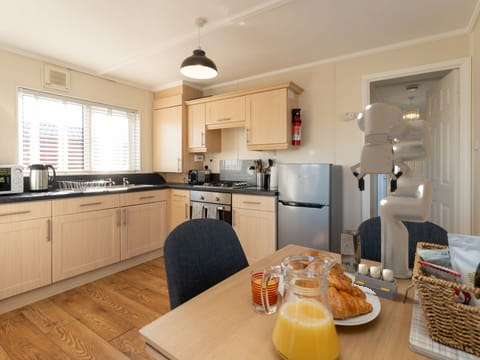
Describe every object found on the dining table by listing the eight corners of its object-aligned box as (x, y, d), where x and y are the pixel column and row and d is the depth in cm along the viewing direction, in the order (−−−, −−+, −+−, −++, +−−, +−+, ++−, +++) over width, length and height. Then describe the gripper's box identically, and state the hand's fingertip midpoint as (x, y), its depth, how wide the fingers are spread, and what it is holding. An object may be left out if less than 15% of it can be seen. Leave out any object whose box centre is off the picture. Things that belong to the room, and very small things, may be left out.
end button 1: (384, 278, 91) (384, 268, 91) (393, 280, 89) (393, 270, 88) (381, 281, 89) (381, 271, 88) (391, 283, 86) (391, 273, 86)
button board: (360, 282, 98) (360, 269, 98) (397, 292, 90) (397, 278, 90) (353, 288, 93) (353, 275, 93) (392, 300, 85) (392, 285, 85)
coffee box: (356, 273, 106) (356, 235, 106) (340, 270, 110) (340, 233, 110) (361, 267, 114) (361, 230, 113) (346, 264, 118) (346, 229, 117)
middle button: (372, 275, 93) (371, 265, 93) (381, 277, 91) (381, 267, 91) (369, 277, 91) (369, 268, 91) (378, 280, 89) (378, 270, 89)
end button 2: (360, 272, 96) (360, 263, 96) (369, 274, 94) (369, 265, 94) (357, 274, 94) (357, 265, 94) (366, 277, 92) (366, 267, 92)
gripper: (409, 139, 84) (409, 191, 85) (354, 143, 96) (354, 189, 97) (403, 137, 79) (403, 193, 79) (346, 142, 91) (346, 191, 91)
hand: (376, 191), depth 88 cm, fingers open, 9 cm apart
